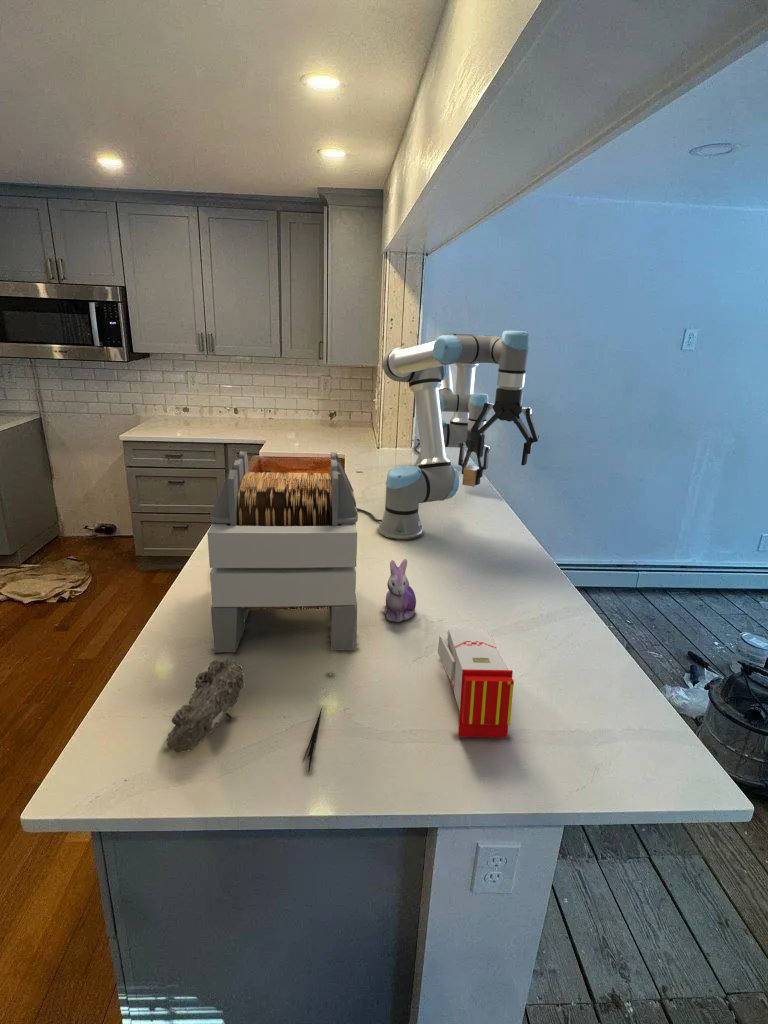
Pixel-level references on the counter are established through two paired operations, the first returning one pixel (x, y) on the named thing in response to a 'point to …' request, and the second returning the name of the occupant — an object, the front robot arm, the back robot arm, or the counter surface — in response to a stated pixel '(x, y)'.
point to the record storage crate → (283, 549)
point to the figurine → (399, 594)
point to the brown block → (470, 476)
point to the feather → (313, 740)
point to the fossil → (206, 705)
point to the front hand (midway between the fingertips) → (501, 460)
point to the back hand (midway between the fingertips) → (471, 482)
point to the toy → (478, 682)
